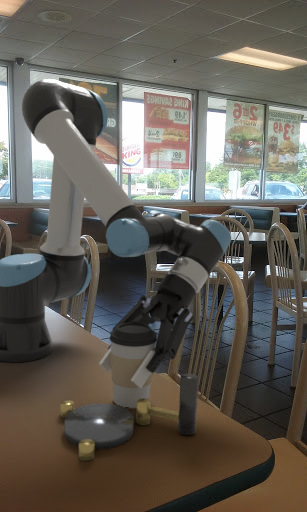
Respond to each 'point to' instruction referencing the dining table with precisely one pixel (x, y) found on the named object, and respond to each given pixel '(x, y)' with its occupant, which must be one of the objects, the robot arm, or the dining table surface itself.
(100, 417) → the plate
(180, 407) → the lever
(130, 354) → the coffee cup
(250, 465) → the dining table surface
